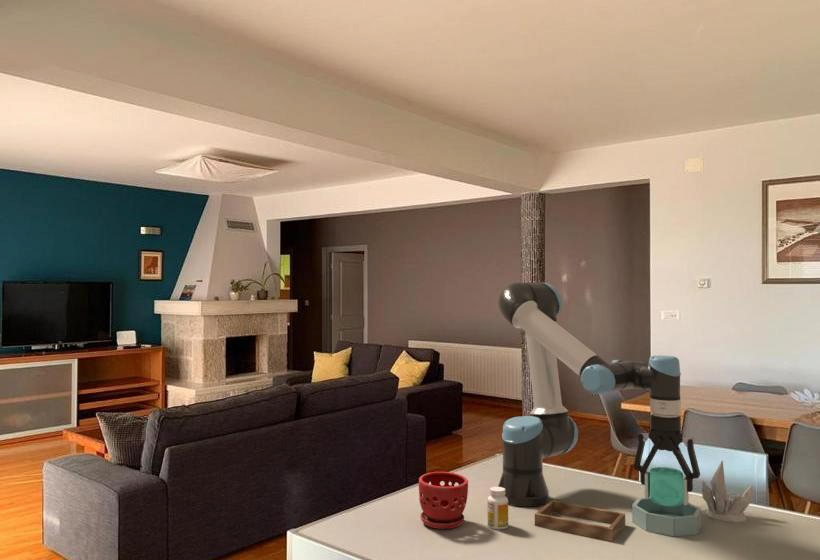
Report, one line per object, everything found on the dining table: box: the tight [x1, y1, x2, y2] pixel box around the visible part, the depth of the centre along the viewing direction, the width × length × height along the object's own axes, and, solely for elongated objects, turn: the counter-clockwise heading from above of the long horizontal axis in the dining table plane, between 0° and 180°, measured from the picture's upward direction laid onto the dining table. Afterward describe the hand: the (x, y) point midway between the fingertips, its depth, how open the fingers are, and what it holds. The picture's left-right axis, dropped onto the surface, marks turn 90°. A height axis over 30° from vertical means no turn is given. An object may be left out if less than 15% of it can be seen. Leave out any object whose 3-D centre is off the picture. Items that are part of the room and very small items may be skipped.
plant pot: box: [418, 471, 469, 530], centre depth 167 cm, size 13×13×12 cm
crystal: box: [701, 460, 755, 523], centre depth 173 cm, size 10×13×15 cm
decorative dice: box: [649, 466, 684, 507], centre depth 166 cm, size 8×8×8 cm
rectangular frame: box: [534, 499, 626, 542], centre depth 165 cm, size 20×13×3 cm, turn 57°
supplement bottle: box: [487, 486, 509, 530], centre depth 165 cm, size 5×5×10 cm
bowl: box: [631, 497, 702, 537], centre depth 166 cm, size 16×16×4 cm
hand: (666, 500), depth 166 cm, fingers closed on decorative dice, 9 cm apart
